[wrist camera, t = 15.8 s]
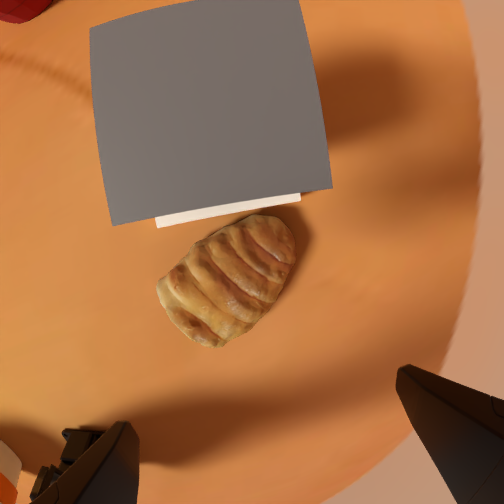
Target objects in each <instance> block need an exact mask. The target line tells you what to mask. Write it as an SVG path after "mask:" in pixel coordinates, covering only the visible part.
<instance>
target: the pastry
mask: <svg viewBox="0 0 504 504" xmlns="http://www.w3.org/2000/svg"><path fill="white" fill-rule="evenodd" d="M295 261H296V247H295V241H294V236H293V235H292V233H291V231H290V230H289V228H288V227H287V226H286V225H285V224H284V223H283V222H282V221H281V220H280V219H279V218H277V217H274V216H264V215H256V214H254V215H251V216H249V217H247V218H245V219H243V220H241V221H239V222H238V223H236V224H232V225H228V226H225V227H223V228H222V229H220V230H219V231H217V232H216V233H214V234H213V235H211V236H209V237H208V238H206V239H203V240H200V241H198V242H196V243H195V244H193V246H192V247H191V249H190V251H189V253H188V254H187V255H186V256H185V257H184V258H183V259H182V260H181V261H180V262H179V263H178V264H177V265H176V266H175V267H174V268H173V269H172V270H171V271H170V272H169V273H168V274H167V275H166V276H165V277H163V278H161V279H160V280H159V281H158V283H157V287H156V289H157V294H158V296H159V298H160V302H161V304H162V306H163V307H164V308H165V309H166V312H167V315H168V316H169V318H170V320H171V321H172V322H173V323H174V324H175V325H176V326H177V327H178V328H179V329H180V330H181V331H182V332H183V333H184V334H185V335H186V336H187V337H189V338H190V339H191V340H192V341H195V342H198V343H201V344H202V345H203V346H206V347H209V348H219V347H223V346H224V345H225V344H226V343H227V342H228V341H230V340H232V339H234V338H236V337H238V336H240V335H242V334H244V333H246V332H248V331H249V330H251V329H252V328H253V326H254V325H255V324H256V323H257V322H258V320H259V319H260V318H261V317H263V316H264V315H265V314H266V313H267V312H268V311H269V309H270V307H271V305H272V304H273V303H274V302H275V301H276V300H277V297H278V294H279V293H280V291H281V290H282V289H283V287H284V282H285V280H286V278H287V275H288V274H289V272H290V270H291V268H292V267H293V265H294V264H295Z"/></svg>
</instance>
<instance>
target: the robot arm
mask: <svg viewBox="0 0 504 504" xmlns="http://www.w3.org/2000/svg"><path fill="white" fill-rule="evenodd" d="M396 391H397V393H398V396H399V398H400V400H401V402H402V404H403V406H404V409H405V411H406V413H407V415H408V418H409V420H410V422H411V424H412V426H413V428H414V429H415V431H416V433H417V434H418V436H419V438H420V439H421V441H422V443H423V444H424V446H425V448H426V450H427V451H428V453H429V455H430V456H431V458H432V460H433V462H434V463H435V465H436V467H437V468H438V470H439V472H440V474H441V475H442V477H443V479H444V481H445V482H446V484H447V486H448V488H449V490H450V491H451V493H452V495H453V497H454V499H455V500H456V502H457V504H504V400H502V399H499V398H496V397H494V396H491V397H490V395H488V394H485V393H483V392H480V391H477V390H475V389H472V388H469V387H467V386H464V385H461V384H459V383H456V382H453V381H451V380H448V379H446V378H443V377H441V376H438V375H436V374H433V373H431V372H428V371H426V370H423V369H421V368H418V367H416V366H413V365H411V364H407V365H404V366H402V367H400V368H398V371H397V378H396ZM62 435H63V437H64V438H65V439H66V441H67V443H66V446H65V448H64V450H63V453H62V455H61V457H60V459H61V463H60V465H59V468H56V466H54V465H52V464H51V466H50V468H49V467H44V466H42V467H41V469H40V471H39V474H38V476H37V478H36V481H35V483H34V486H33V488H32V491H31V494H30V498H31V501H32V502H31V503H29V504H137V495H138V486H139V437H138V435H137V434H136V432H135V430H134V429H133V427H132V425H131V424H130V422H128V421H117V422H115V423H114V424H113V425H112V426H111V427H110V428H109V429H108V430H107V431H106V432H95V431H74V430H63V431H62ZM49 486H50V487H49Z"/></svg>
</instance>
